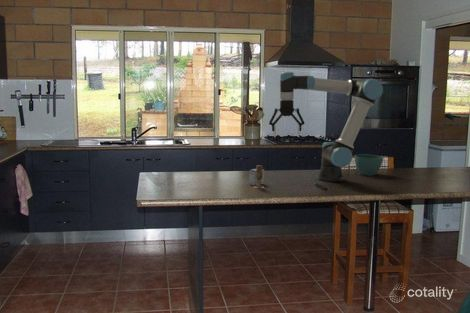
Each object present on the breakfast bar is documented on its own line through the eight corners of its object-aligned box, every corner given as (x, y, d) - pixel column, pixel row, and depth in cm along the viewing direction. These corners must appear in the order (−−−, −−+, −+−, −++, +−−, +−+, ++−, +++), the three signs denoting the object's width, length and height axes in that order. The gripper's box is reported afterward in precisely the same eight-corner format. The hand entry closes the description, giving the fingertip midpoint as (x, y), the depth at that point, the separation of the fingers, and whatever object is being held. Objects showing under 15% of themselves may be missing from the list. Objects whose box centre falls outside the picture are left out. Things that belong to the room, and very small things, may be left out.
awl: (262, 186, 283) (262, 165, 282) (262, 187, 280) (262, 166, 278) (255, 186, 283) (256, 165, 282) (256, 187, 280) (256, 166, 278)
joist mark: (264, 187, 283) (264, 186, 283) (264, 188, 280) (264, 187, 280) (253, 187, 283) (253, 186, 283) (253, 188, 280) (253, 187, 280)
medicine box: (258, 183, 296) (259, 168, 295) (264, 184, 292) (264, 169, 291) (249, 184, 290) (249, 169, 289) (254, 185, 287) (254, 170, 286)
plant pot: (385, 174, 335) (386, 156, 333) (377, 178, 320) (378, 158, 318) (358, 171, 345) (359, 153, 343) (349, 175, 329) (350, 156, 328)
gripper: (307, 99, 291) (307, 136, 294) (264, 99, 291) (264, 136, 294) (309, 99, 284) (309, 137, 287) (265, 100, 284) (265, 137, 287)
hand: (286, 137), depth 291 cm, fingers open, 13 cm apart
